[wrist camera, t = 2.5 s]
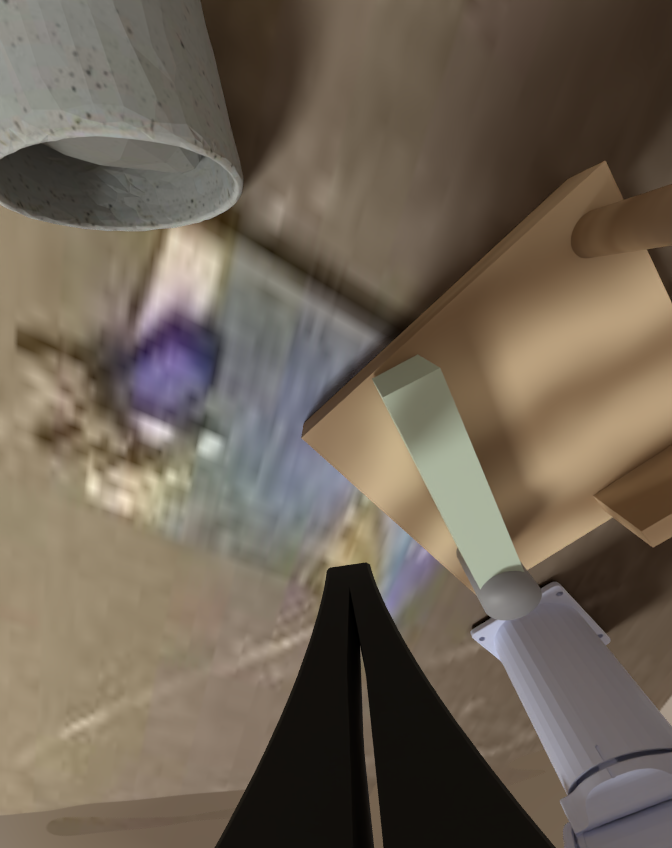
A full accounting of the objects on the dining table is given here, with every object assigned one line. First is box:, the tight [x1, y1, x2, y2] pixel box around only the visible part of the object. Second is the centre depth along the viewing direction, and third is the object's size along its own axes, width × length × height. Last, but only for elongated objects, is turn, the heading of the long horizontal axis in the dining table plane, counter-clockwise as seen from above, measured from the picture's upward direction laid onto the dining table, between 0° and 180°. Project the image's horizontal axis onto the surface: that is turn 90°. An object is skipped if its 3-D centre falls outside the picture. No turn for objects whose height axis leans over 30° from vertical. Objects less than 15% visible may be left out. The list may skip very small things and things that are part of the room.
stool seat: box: [301, 161, 672, 594], centre depth 16 cm, size 17×17×6 cm
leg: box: [372, 354, 542, 620], centre depth 15 cm, size 14×3×4 cm, turn 28°
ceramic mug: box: [0, 0, 244, 231], centre depth 9 cm, size 11×8×8 cm
